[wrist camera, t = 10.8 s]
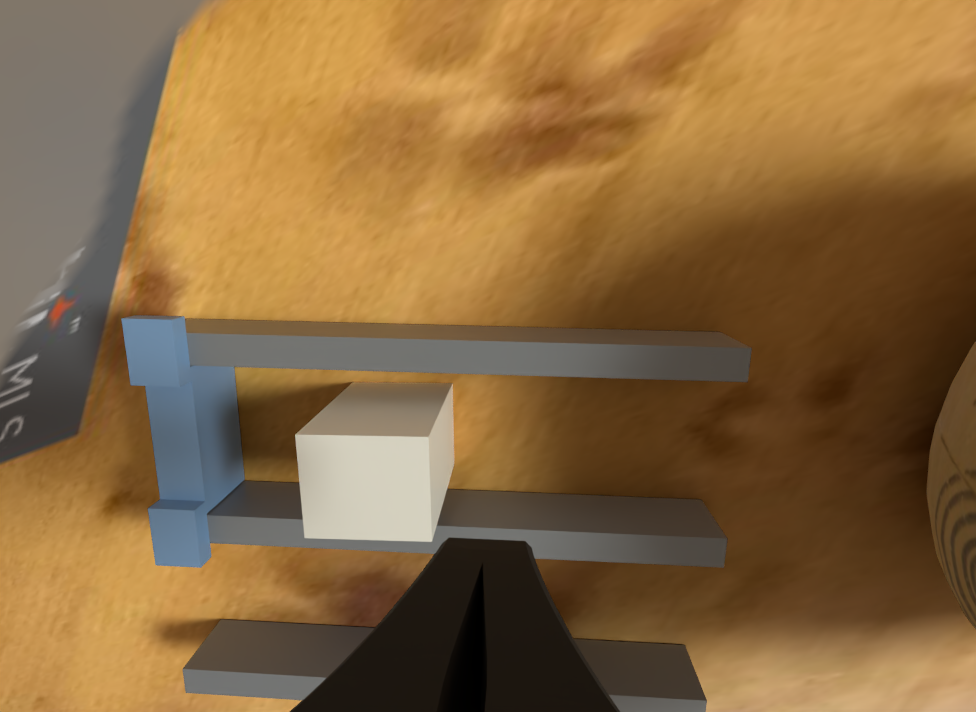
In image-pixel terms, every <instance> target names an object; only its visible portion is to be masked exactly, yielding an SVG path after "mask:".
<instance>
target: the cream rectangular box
mask: <svg viewBox="0 0 976 712" xmlns="http://www.w3.org/2000/svg"><path fill="white" fill-rule="evenodd" d="M295 439H296V450H297V461H298V472H299V483H300V494H301V505H302V516H303V527H304V538H315V539H349V540H384V541H418V542H432V540H433V536H434V533H435V529H436V526H437V523H438V519H439V516H440V512H441V509H442V505H443V502H444V498H445V495H446V491H447V488H448V484H449V481H450V477H451V474H452V470H453V467H454V426H453V383H394V382H352V383H351V384H350V385H349V386H348V387H347V388H346V389H345V390H344V391H342V392H341V393H340V394H339V395H338V396H337V397H336V398H335V399H334V400H333V401H331V402H330V403H329V404H328V405H327V406H326V407H325V408H324V409H323V410H322V411H320V412H319V413H318V414H317V415H316V416H315V417H314V418H313V419H312V420H311V421H309V422H308V423H307V424H306V425H305V426H304V427H303V428H302V429H301V430H300V431H298V432H297V433H296V434H295Z"/></svg>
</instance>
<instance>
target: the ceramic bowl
mask: <svg viewBox="0 0 976 712" xmlns="http://www.w3.org/2000/svg"><path fill="white" fill-rule="evenodd" d="M926 494H927V501H928V508H929V515H930V522H931V529H932V535H933V540H934V545H935V550H936V555H937V558H938V560H939V562H940V565H941V567H942V570H943V572H944V575H945V577H946V579H947V581H948V583H949V585H950V587H951V589H952V591H953V593H954V595H955V597H956V599H957V601H958V603H959V605H960V607H961V609H962V611H963V613H964V614H965V616H966V617H967V618H968V620H969V621H970V622H971V624H972V625H973V626H974V628H975V629H976V341H975V343H974V344H973V346H972V347H971V349H970V351H969V353H968V355H967V356H966V358H965V360H964V362H963V363H962V365H961V367H960V369H959V371H958V373H957V374H956V376H955V378H954V380H953V382H952V384H951V386H950V389H949V391H948V394H947V396H946V399H945V401H944V404H943V407H942V410H941V412H940V415H939V417H938V420H937V422H936V425H935V429H934V434H933V439H932V443H931V448H930V453H929V466H928V478H927V491H926Z"/></svg>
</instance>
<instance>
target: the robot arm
mask: <svg viewBox="0 0 976 712" xmlns="http://www.w3.org/2000/svg"><path fill="white" fill-rule="evenodd" d="M290 712H620V711H619V709H618V708H617V706H616V705H615V703H614V702H613V701H612V699H611V698H610V696H609V695H608V693H607V692H606V690H605V689H604V687H603V686H602V684H601V683H600V681H599V680H598V678H597V676H596V675H595V673H594V672H593V670H592V669H591V667H590V666H589V664H588V662H587V661H586V659H585V658H584V656H583V654H582V653H581V651H580V649H579V648H578V646H577V644H576V643H575V641H574V639H573V637H572V636H571V634H570V632H569V630H568V628H567V626H566V625H565V623H564V621H563V619H562V617H561V615H560V614H559V612H558V610H557V608H556V606H555V604H554V602H553V600H552V598H551V596H550V594H549V592H548V590H547V588H546V585H545V583H544V581H543V579H542V576H541V574H540V572H539V569H538V566H537V564H536V561H535V558H534V555H533V551H532V548H531V547H530V545H529V544H528V543H527V542H526V541H515V540H494V539H472V538H450V537H449V538H448V539H447V540H445V541H444V542H443V543H442V544H441V546H440V547H439V549H438V550H437V552H436V553H435V554H434V556H433V557H432V559H431V560H430V561H429V563H428V564H427V566H426V567H425V568H424V570H423V571H422V572H421V573H420V575H419V576H418V577H417V579H416V580H415V581H414V582H413V584H412V585H411V586H410V588H409V589H408V590H407V591H406V592H405V594H404V595H403V596H402V597H401V598H400V599H399V601H398V602H397V603H396V604H395V605H394V607H393V608H392V609H391V610H390V611H389V613H388V614H387V615H386V616H385V617H384V618H383V620H382V621H381V622H380V623H379V624H378V625H377V626H376V627H375V628H374V630H373V631H372V632H371V633H370V634H369V635H368V636H367V637H366V638H365V639H364V640H363V641H362V642H361V643H360V644H359V645H358V646H357V647H356V648H355V650H354V651H353V652H352V653H351V654H350V655H349V656H348V657H347V658H346V659H345V660H344V661H343V662H342V663H341V664H340V665H339V666H338V667H337V668H336V669H335V670H334V671H333V672H332V673H331V674H330V675H329V676H328V677H327V678H326V679H325V680H324V681H323V682H322V683H321V684H320V685H319V686H318V687H316V688H315V689H314V690H313V691H312V692H311V693H310V694H309V695H308V696H307V697H306V698H305V699H303V700H302V701H301V702H300V703H299V704H298V705H297V706H296V707H294V708H293V709H292V710H291V711H290Z"/></svg>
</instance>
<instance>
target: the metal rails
mask: <svg viewBox="0 0 976 712" xmlns="http://www.w3.org/2000/svg"><path fill="white" fill-rule="evenodd" d="M121 319H122V326H123V333H124V341H125V348H126V355H127V362H128V369H129V377H130V384H131V385H135V386H145V389H146V396H147V404H148V411H149V419H150V426H151V434H152V442H153V449H154V457H155V464H156V472H157V479H158V487H159V494H160V500H158V501H157V502H156V503H154V504H153V505H152V506H150V507H149V508H148V514H149V521H150V528H151V535H152V542H153V550H154V557H155V564H156V565H161V566H180V567H200V568H201V567H202V566H203V565H204V564H205V563H206V562H207V561H208V560H209V559H210V558H211V548H210V543H220V544H241V545H262V546H283V547H304V548H325V549H346V550H367V551H388V552H409V553H430V554H435V553H436V552H437V550H438V549H439V547H440V546H441V544H442V543H443V542H444V541H445V540H447V539H448V538H449V537H450V538H472V539H494V540H515V541H526V542H527V543H528V544H529V545H530V547H531V548H532V551H533V555H534V558H535V559H555V560H576V561H597V562H618V563H639V564H660V565H681V566H702V567H722V568H724V562H725V555H726V547H727V537H726V536H725V534H724V533H723V531H722V530H721V528H720V527H719V525H718V524H717V522H716V521H715V519H714V518H713V516H712V515H711V513H710V512H709V510H708V509H707V507H706V506H705V504H704V503H703V501H702V500H699V499H675V498H651V497H627V496H602V495H578V494H554V493H530V492H506V491H481V490H457V489H447V491H446V495H445V498H444V502H443V505H442V509H441V512H440V516H439V519H438V523H437V526H436V529H435V533H434V536H433V540H432V542H418V541H384V540H349V539H315V538H304V527H303V516H302V505H301V494H300V483H288V482H264V481H244V480H245V477H244V467H243V456H242V445H241V434H240V424H239V413H238V402H237V392H236V381H235V370H234V367H256V368H290V369H323V370H357V371H390V372H424V373H457V374H490V375H524V376H557V377H591V378H624V379H658V380H691V381H725V382H748V375H749V367H750V359H751V351H752V348H751V347H749V346H747V345H745V344H743V343H741V342H739V341H737V340H735V339H733V338H731V337H729V336H727V335H725V334H723V333H721V332H703V331H663V330H623V329H583V328H543V327H504V326H464V325H424V324H384V323H344V322H304V321H265V320H225V319H185V317H184V316H145V315H135V316H130V317H126V318H121ZM373 630H374V628H369V627H351V626H333V625H315V624H296V623H278V622H260V621H242V620H224V619H221V620H220V621H219V622H218V624H217V625H216V626H215V628H214V629H213V630H212V631H211V633H210V634H209V635H208V637H207V638H206V639H205V641H204V642H203V643H202V644H201V646H200V647H199V648H198V650H197V651H196V652H195V654H194V655H193V656H192V657H191V659H190V660H189V661H188V663H187V664H186V665H185V667H184V668H183V675H184V683H185V690H186V693H198V694H213V695H229V696H245V697H261V698H277V699H293V700H303V699H305V698H306V697H307V696H308V695H309V694H310V693H311V692H312V691H313V690H314V689H315V688H316V687H318V686H319V685H320V684H321V683H322V682H323V681H324V680H325V679H326V678H327V677H328V676H329V675H330V674H331V673H332V672H333V671H334V670H335V669H336V668H337V667H338V666H339V665H340V664H341V663H342V662H343V661H344V660H345V659H346V658H347V657H348V656H349V655H350V654H351V653H352V652H353V651H354V650H355V648H356V647H357V646H358V645H359V644H360V643H361V642H362V641H363V640H364V639H365V638H366V637H367V636H368V635H369V634H370V633H371V632H372V631H373ZM574 641H575V643H576V644H577V646H578V648H579V649H580V651H581V653H582V654H583V656H584V658H585V659H586V661H587V662H588V664H589V666H590V667H591V669H592V670H593V672H594V673H595V675H596V676H597V678H598V680H599V681H600V683H601V684H602V686H603V687H604V689H605V690H606V692H607V693H608V695H609V696H610V698H611V699H612V701H613V702H614V703H615V705H616V706H617V708H618V709H619V711H620V712H705V711H706V703H707V700H706V697H705V695H704V692H703V690H702V687H701V685H700V682H699V680H698V677H697V675H696V672H695V670H694V667H693V665H692V662H691V659H690V657H689V654H688V652H687V649H686V647H685V645H675V644H657V643H639V642H621V641H603V640H585V639H574Z"/></svg>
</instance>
